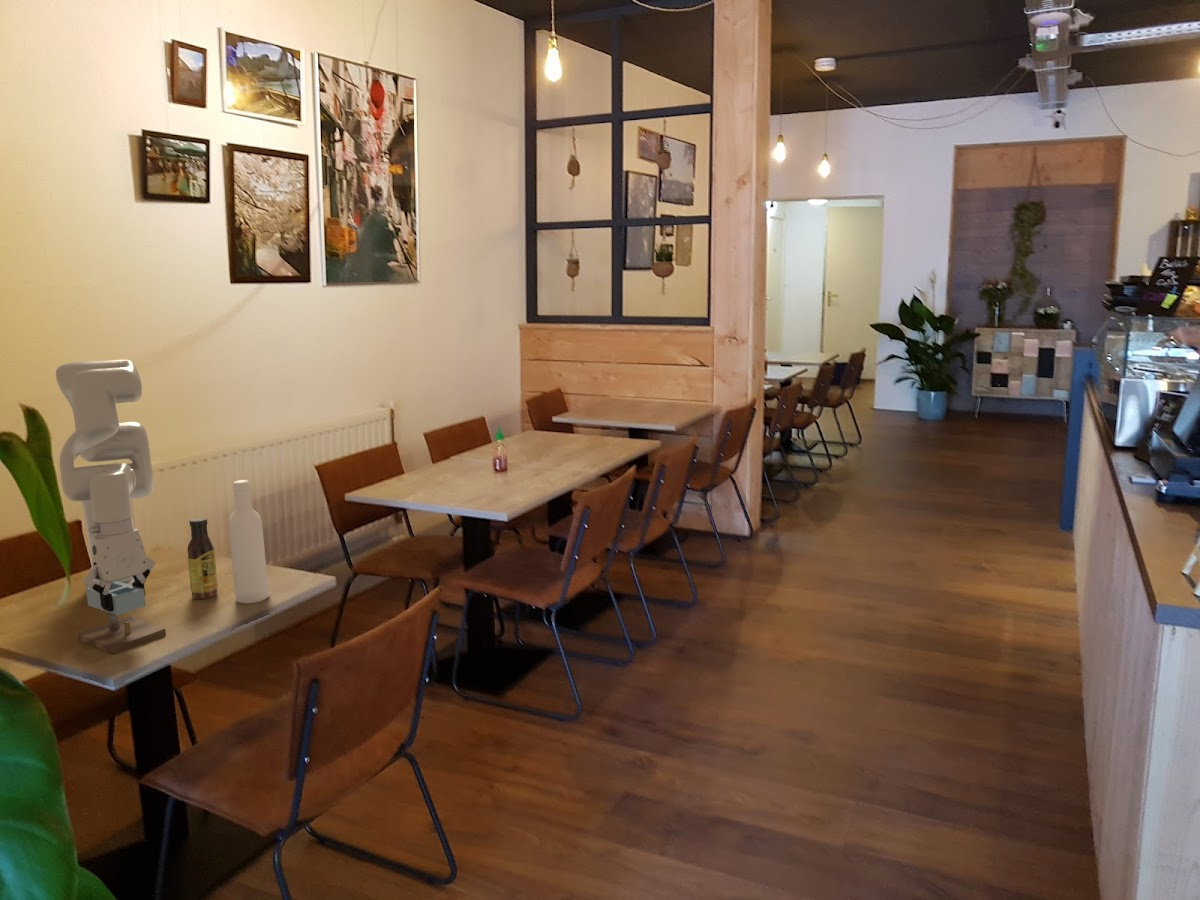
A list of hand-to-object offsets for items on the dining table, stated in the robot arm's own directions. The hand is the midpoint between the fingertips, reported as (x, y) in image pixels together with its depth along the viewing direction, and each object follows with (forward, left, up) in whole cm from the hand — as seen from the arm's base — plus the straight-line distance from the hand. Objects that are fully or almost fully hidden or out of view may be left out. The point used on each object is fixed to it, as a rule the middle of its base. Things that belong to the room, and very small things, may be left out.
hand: (124, 604), depth 202 cm
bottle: (+1, +31, -9) cm, 32 cm away
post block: (-3, 0, -8) cm, 9 cm away
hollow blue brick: (-3, 0, -1) cm, 3 cm away
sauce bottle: (-11, +26, -9) cm, 29 cm away
